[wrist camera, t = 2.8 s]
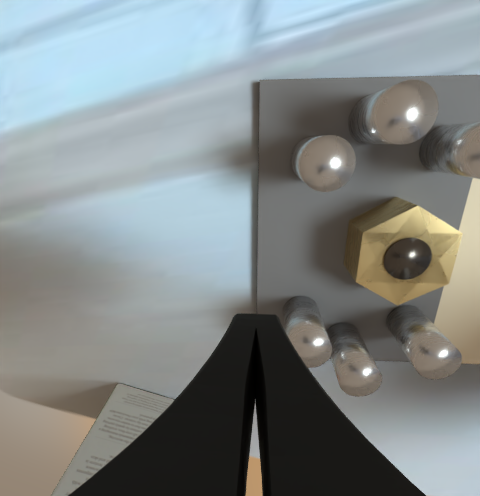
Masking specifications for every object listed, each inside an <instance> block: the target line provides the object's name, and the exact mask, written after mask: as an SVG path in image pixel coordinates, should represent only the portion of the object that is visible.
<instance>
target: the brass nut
mask: <svg viewBox="0 0 480 496" xmlns="http://www.w3.org/2000/svg"><path fill="white" fill-rule="evenodd" d="M462 235H463V233H461V232H460V231H458V230H456V229H455V228H453V227H452V226H450V225H448V224H447V223H445V222H444V221H442V220H440V219H439V218H437V217H436V216H434V215H432V214H431V213H429V212H428V211H426V210H424V209H423V208H421V207H420V206H418V205H416V204H413V203H411V202H408V201H406V200H403V199H401V198H398V197H394V198H392V199H390V200H388V201H386V202H384V203H382V204H380V205H378V206H376V207H374V208H372V209H370V210H368V211H366V212H364V213H363V214H361V215H359V216H357V217H355V218H353V219H351V220H349V225H348V233H347V240H346V248H345V256H344V266H345V267H346V268H347V270H348V271H349V273H350V274H351V276H352V277H353V279H354V280H355V282H357V283H358V284H360V285H362V286H364V287H365V288H367V289H369V290H371V291H373V292H374V293H376V294H378V295H380V296H381V297H383V298H385V299H387V300H388V301H390V302H392V303H394V304H395V305H400V304H402V303H405V302H407V301H409V300H412V299H414V298H417V297H419V296H421V295H424V294H426V293H428V292H431V291H433V290H436V289H438V288H440V287H443V286H445V285H448V284H449V282H450V279H451V275H452V271H453V268H454V264H455V260H456V257H457V253H458V249H459V246H460V242H461V238H462Z"/></svg>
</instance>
